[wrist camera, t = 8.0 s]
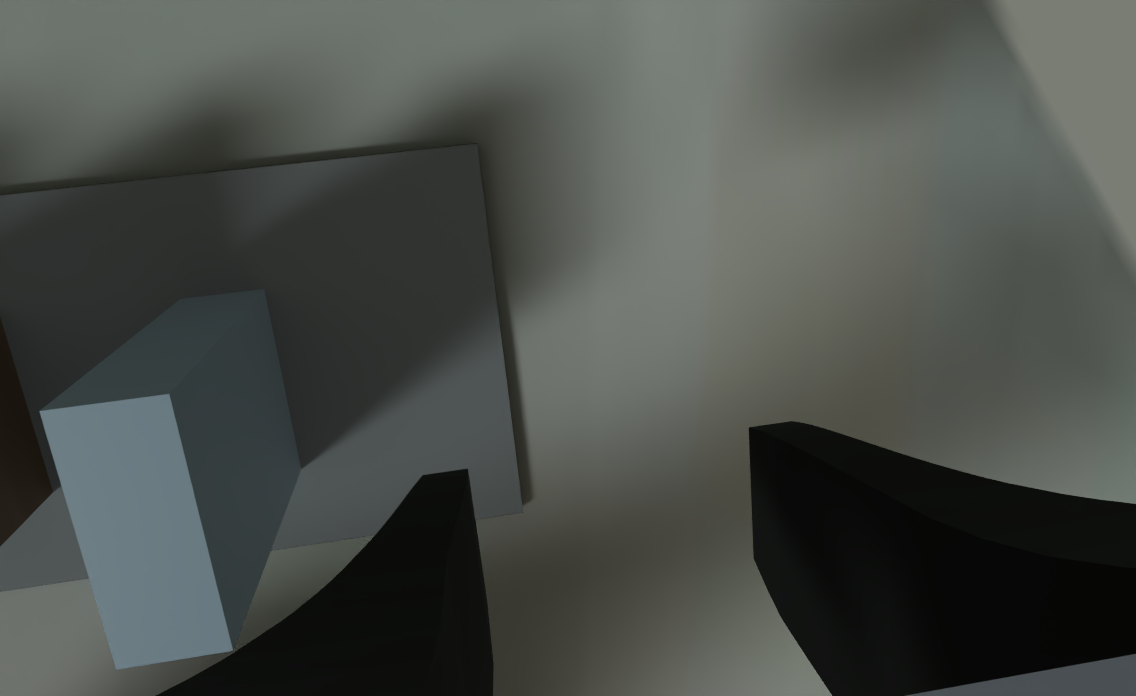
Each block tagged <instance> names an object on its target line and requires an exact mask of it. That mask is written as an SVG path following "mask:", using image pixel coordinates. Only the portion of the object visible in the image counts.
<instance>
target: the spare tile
mask: <svg viewBox="0 0 1136 696" xmlns="http://www.w3.org/2000/svg"><path fill="white" fill-rule="evenodd" d="M39 412H40V415H41V419H42V422H43V425H44V429H45V432H46V435H47V439H48V442H49V445H50V449H51V452H52V456H53V459H54V462H55V466H56V469H57V472H58V476H59V479H60V482H61V486H62V489H63V493H64V496H65V499H66V503H67V506H68V509H69V513H70V516H71V519H72V523H73V526H74V529H75V533H76V536H77V540H78V543H79V546H80V550H81V553H82V556H83V560H84V563H85V566H86V570H87V573H88V577H89V580H90V583H91V587H92V590H93V593H94V597H95V600H96V603H97V607H98V610H99V613H100V617H101V620H102V624H103V627H104V630H105V634H106V637H107V640H108V644H109V647H110V650H111V654H112V657H113V661H114V664H115V667H116V670H118V669H124V668H130V667H136V666H143V665H149V664H155V663H161V662H167V661H173V660H180V659H186V658H192V657H198V656H204V655H210V654H217V653H223V652H229V651H233V650H234V647H235V644H236V642H237V639H238V636H239V634H240V631H241V628H242V626H243V623H244V620H245V618H246V615H247V612H248V610H249V607H250V604H251V602H252V599H253V596H254V594H255V591H256V588H257V586H258V583H259V580H260V578H261V575H262V573H263V570H264V567H265V565H266V562H267V559H268V557H269V554H270V551H271V549H272V546H273V543H274V541H275V538H276V535H277V533H278V530H279V527H280V525H281V522H282V519H283V517H284V514H285V511H286V509H287V506H288V503H289V501H290V498H291V495H292V493H293V490H294V488H295V485H296V482H297V480H298V477H299V474H300V472H301V465H300V460H299V456H298V451H297V446H296V441H295V436H294V431H293V426H292V422H291V417H290V412H289V407H288V402H287V397H286V392H285V387H284V383H283V378H282V373H281V368H280V363H279V358H278V353H277V349H276V344H275V339H274V334H273V329H272V324H271V319H270V315H269V310H268V305H267V300H266V295H265V290H264V289H258V290H250V291H242V292H234V293H226V294H217V295H209V296H201V297H193V298H185V299H180V300H179V301H177V302H176V303H175V304H173V305H172V306H171V307H170V308H168V309H167V310H166V311H165V312H163V313H162V314H161V315H160V316H158V317H157V318H156V319H155V320H153V321H152V322H151V323H150V324H148V325H147V326H146V327H145V328H143V329H142V330H141V331H140V332H138V333H137V334H136V335H134V336H133V337H132V338H131V339H129V340H128V341H127V342H126V343H124V344H123V345H122V346H121V347H119V348H118V349H117V350H116V351H114V352H113V353H112V354H111V355H109V356H108V357H107V358H106V359H104V360H103V361H102V362H101V363H99V364H98V365H97V366H95V367H94V368H93V369H92V370H90V371H89V372H88V373H87V374H85V375H84V376H83V377H82V378H80V379H79V380H78V381H77V382H75V383H74V384H73V385H72V386H70V387H69V388H68V389H67V390H65V391H64V392H63V393H62V394H60V395H59V396H58V397H56V398H55V399H54V400H53V401H51V402H50V403H49V404H48V405H46V406H45V407H44V408H43V409H41V410H40V411H39Z"/></svg>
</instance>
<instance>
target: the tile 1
mask: <svg viewBox="0 0 1136 696" xmlns="http://www.w3.org/2000/svg"><path fill="white" fill-rule="evenodd" d="M52 493H53V490H52V487H51V484H50V480H49V477H48V474H47V470H46V467H45V464H44V460H43V457H42V454H41V450H40V447H39V444H38V440H37V437H36V434H35V430H34V427H33V424H32V420H31V417H30V414H29V411H28V407H27V404H26V401H25V397H24V394H23V391H22V387H21V384H20V381H19V377H18V374H17V371H16V367H15V364H14V361H13V357H12V354H11V351H10V348H9V344H8V341H7V338H6V334H5V331H4V328H3V324H2V321H1V318H0V547H1V545H2V544H3V543H4V542H5V541H6V540H7V539H8V538H9V537H10V536H11V535H12V534H13V533H14V532H15V531H16V530H17V529H18V528H19V527H20V526H21V525H22V524H23V523H24V522H25V521H26V520H27V519H28V518H29V517H30V516H31V515H32V514H33V513H34V511H35V510H36V509H37V508H38V507H39V506H40V505H41V504H42V503H43V502H44V501H45V500H46V499H47V498H48V497H49V496H50V495H51V494H52Z"/></svg>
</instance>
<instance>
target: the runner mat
mask: <svg viewBox="0 0 1136 696" xmlns="http://www.w3.org/2000/svg"><path fill="white" fill-rule="evenodd" d="M258 289H264V290H265V295H266V300H267V305H268V310H269V315H270V319H271V324H272V329H273V334H274V339H275V344H276V349H277V353H278V358H279V363H280V368H281V373H282V378H283V383H284V387H285V392H286V397H287V402H288V407H289V412H290V417H291V422H292V426H293V431H294V436H295V441H296V446H297V451H298V456H299V460H300V465H301V472H300V474H299V477H298V480H297V482H296V485H295V488H294V490H293V493H292V495H291V498H290V501H289V503H288V506H287V509H286V511H285V514H284V517H283V519H282V522H281V525H280V527H279V530H278V533H277V535H276V538H275V541H274V543H273V546H272V549H271V551H272V550H279V549H286V548H292V547H299V546H305V545H312V544H319V543H325V542H332V541H338V540H345V539H351V538H358V537H365V536H371V535H376V534H377V532H378V531H379V530H380V529H381V527H382V526H383V525H384V524H385V523H386V521H387V520H388V519H389V518H390V516H391V515H392V514H393V512H394V511H395V510H396V509H397V507H398V506H399V505H400V503H401V502H402V501H403V499H404V498H405V497H406V495H407V494H408V493H409V491H410V490H411V489H412V487H413V486H414V485H415V484H416V483H417V481H418V480H419V479H420V478H421V476H422V475H427V474H434V473H440V472H447V471H454V470H461V469H468V472H469V479H470V486H471V493H472V500H473V507H474V514H475V520H477V519H483V518H490V517H496V516H503V515H510V514H516V513H523V507H522V499H521V491H520V483H519V475H518V467H517V459H516V451H515V443H514V435H513V427H512V419H511V411H510V403H509V395H508V387H507V379H506V371H505V363H504V355H503V347H502V339H501V331H500V322H499V314H498V306H497V298H496V290H495V282H494V274H493V266H492V258H491V250H490V242H489V234H488V226H487V218H486V210H485V202H484V194H483V186H482V178H481V170H480V162H479V154H478V146H477V143H475V144H466V145H456V146H447V147H438V148H429V149H419V150H410V151H401V152H392V153H382V154H373V155H364V156H355V157H345V158H336V159H327V160H317V161H308V162H299V163H290V164H280V165H271V166H262V167H253V168H243V169H234V170H225V171H216V172H206V173H197V174H188V175H179V176H169V177H160V178H151V179H142V180H132V181H123V182H114V183H104V184H95V185H86V186H77V187H67V188H58V189H49V190H40V191H30V192H21V193H12V194H3V195H0V318H1V321H2V324H3V328H4V331H5V334H6V338H7V341H8V344H9V348H10V351H11V354H12V357H13V361H14V364H15V367H16V371H17V374H18V377H19V381H20V384H21V387H22V391H23V394H24V397H25V401H26V404H27V407H28V411H29V414H30V417H31V420H32V424H33V427H34V430H35V434H36V437H37V440H38V444H39V447H40V450H41V454H42V457H43V460H44V464H45V467H46V470H47V474H48V477H49V480H50V484H51V487H52V490H53V493H52V494H51V495H50V496H49V497H48V498H47V499H46V500H45V501H44V502H43V503H42V504H41V505H40V506H39V507H38V508H37V509H36V510H35V511H34V513H33V514H32V515H31V516H30V517H29V518H28V519H27V520H26V521H25V522H24V523H23V524H22V525H21V526H20V527H19V528H18V529H17V530H16V531H15V532H14V533H13V534H12V535H11V536H10V537H9V538H8V539H7V540H6V541H5V542H4V543H3V544H2V545H1V547H0V592H2V591H9V590H15V589H22V588H29V587H35V586H42V585H48V584H55V583H62V582H68V581H75V580H81V579H88V578H89V577H88V573H87V570H86V566H85V563H84V560H83V556H82V553H81V550H80V546H79V543H78V540H77V536H76V533H75V529H74V526H73V523H72V519H71V516H70V513H69V509H68V506H67V503H66V499H65V496H64V493H63V489H62V486H61V482H60V479H59V476H58V472H57V469H56V466H55V462H54V459H53V456H52V452H51V449H50V445H49V442H48V439H47V435H46V432H45V429H44V425H43V422H42V419H41V415H40V412H39V411H40V410H41V409H43V408H44V407H45V406H46V405H48V404H49V403H50V402H51V401H53V400H54V399H55V398H56V397H58V396H59V395H60V394H62V393H63V392H64V391H65V390H67V389H68V388H69V387H70V386H72V385H73V384H74V383H75V382H77V381H78V380H79V379H80V378H82V377H83V376H84V375H85V374H87V373H88V372H89V371H90V370H92V369H93V368H94V367H95V366H97V365H98V364H99V363H101V362H102V361H103V360H104V359H106V358H107V357H108V356H109V355H111V354H112V353H113V352H114V351H116V350H117V349H118V348H119V347H121V346H122V345H123V344H124V343H126V342H127V341H128V340H129V339H131V338H132V337H133V336H134V335H136V334H137V333H138V332H140V331H141V330H142V329H143V328H145V327H146V326H147V325H148V324H150V323H151V322H152V321H153V320H155V319H156V318H157V317H158V316H160V315H161V314H162V313H163V312H165V311H166V310H167V309H168V308H170V307H171V306H172V305H173V304H175V303H176V302H177V301H179V300H180V299H185V298H193V297H201V296H209V295H217V294H226V293H234V292H242V291H250V290H258Z"/></svg>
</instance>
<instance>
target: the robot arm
mask: <svg viewBox="0 0 1136 696" xmlns="http://www.w3.org/2000/svg"><path fill="white" fill-rule="evenodd" d="M749 445H750V472H751V498H752V525H753V551H754V560H755V562H756V565H757V567H758V569H759V571H760V574H761V576H762V578H763V580H764V583H765V585H766V587H767V589H768V592H769V594H770V596H771V598H772V600H773V602H774V604H775V606H776V608H777V610H778V612H779V614H780V616H781V618H782V619H783V621H784V623H785V624H786V626H787V627H788V629H789V631H790V632H791V634H792V635H793V637H794V638H795V640H796V641H797V643H798V644H799V646H800V647H801V649H802V650H803V652H804V654H805V655H806V657H807V658H808V660H809V661H810V663H811V664H812V666H813V667H814V669H815V670H816V672H817V673H818V675H819V676H820V678H821V679H822V681H823V682H824V684H825V685H826V687H827V688H828V690H829V691H830V693H831V694H832V696H1136V504H1131V503H1123V502H1115V501H1106V500H1098V499H1091V498H1085V497H1078V496H1072V495H1066V494H1060V493H1055V492H1050V491H1045V490H1039V489H1034V488H1029V487H1024V486H1019V485H1014V484H1009V483H1005V482H1000V481H996V480H992V479H988V478H984V477H980V476H976V475H972V474H969V473H965V472H961V471H958V470H954V469H950V468H947V467H943V466H939V465H936V464H933V463H929V462H926V461H923V460H919V459H916V458H913V457H910V456H907V455H903V454H900V453H897V452H894V451H891V450H888V449H885V448H882V447H879V446H876V445H873V444H870V443H867V442H864V441H861V440H858V439H855V438H852V437H849V436H846V435H843V434H840V433H837V432H834V431H830V430H827V429H824V428H820V427H817V426H813V425H809V424H805V423H800V422H793V421H790V422H784V423H777V424H770V425H763V426H756V427H749ZM156 696H493V655H492V645H491V635H490V625H489V616H488V606H487V598H486V591H485V584H484V577H483V570H482V563H481V556H480V549H479V542H478V535H477V528H476V521H475V514H474V507H473V500H472V493H471V486H470V479H469V472H468V469H461V470H454V471H447V472H440V473H434V474H427V475H422V476H421V478H420V479H419V480H418V481H417V483H416V484H415V485H414V486H413V487H412V489H411V490H410V491H409V493H408V494H407V495H406V497H405V498H404V499H403V501H402V502H401V503H400V505H399V506H398V507H397V509H396V510H395V511H394V512H393V514H392V515H391V516H390V518H389V519H388V520H387V521H386V523H385V524H384V525H383V526H382V527H381V529H380V530H379V531H378V532H377V534H376V535H375V536H374V537H373V538H372V540H371V541H370V542H369V543H368V544H367V545H366V546H365V547H364V548H363V549H362V550H361V551H360V552H359V553H358V554H357V555H356V556H355V557H354V558H353V560H352V561H351V562H350V563H349V564H348V565H347V566H346V567H345V568H344V569H343V570H342V571H341V572H340V573H339V574H338V575H337V576H336V577H335V578H334V579H333V580H332V581H330V582H329V583H328V584H327V585H326V586H325V587H324V588H323V589H321V590H320V591H319V592H318V593H317V594H316V595H314V596H313V597H312V598H311V599H309V600H308V601H307V602H306V603H304V604H303V605H302V606H301V607H299V608H298V609H297V610H296V611H295V612H293V613H292V614H291V615H289V616H288V617H287V618H285V619H284V620H283V621H281V622H280V623H278V624H277V625H275V626H274V627H272V628H271V629H269V630H268V631H266V632H265V633H263V634H262V635H260V636H259V637H257V638H256V639H254V640H252V641H251V642H249V643H248V644H246V645H245V646H243V647H242V648H240V649H239V650H237V651H236V652H234V653H233V654H231V655H230V656H228V657H227V658H225V659H223V660H222V661H220V662H218V663H216V664H214V665H213V666H211V667H209V668H207V669H206V670H204V671H202V672H200V673H198V674H197V675H195V676H193V677H191V678H189V679H187V680H186V681H184V682H182V683H180V684H178V685H176V686H174V687H172V688H170V689H168V690H166V691H164V692H162V693H160V694H158V695H156Z"/></svg>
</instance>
